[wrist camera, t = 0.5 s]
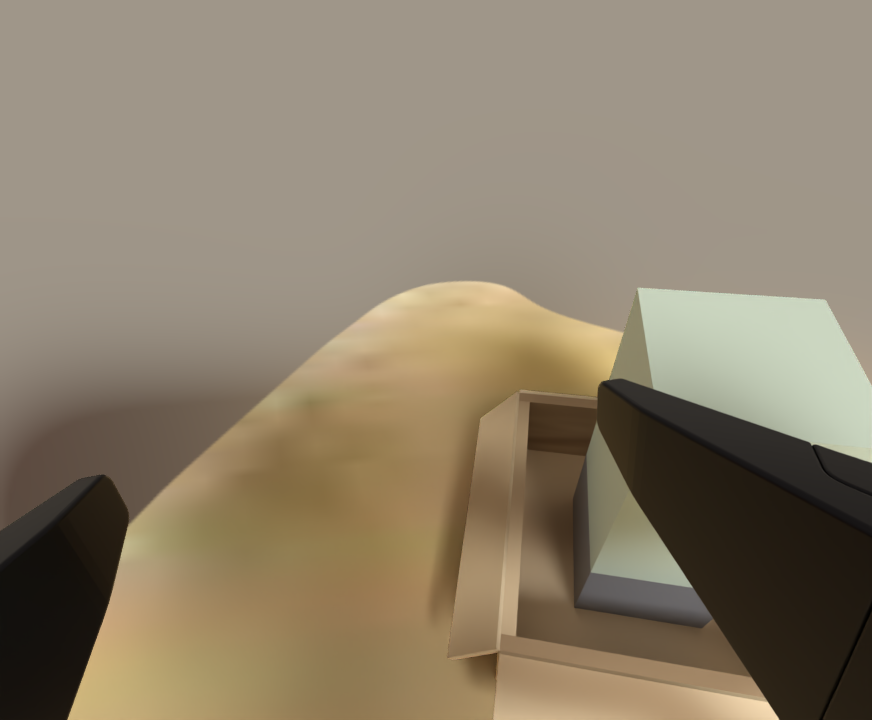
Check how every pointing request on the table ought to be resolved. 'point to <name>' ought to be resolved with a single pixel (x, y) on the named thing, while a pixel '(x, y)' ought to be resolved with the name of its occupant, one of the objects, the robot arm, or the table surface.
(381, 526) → the table surface
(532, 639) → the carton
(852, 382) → the box
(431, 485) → the table surface
